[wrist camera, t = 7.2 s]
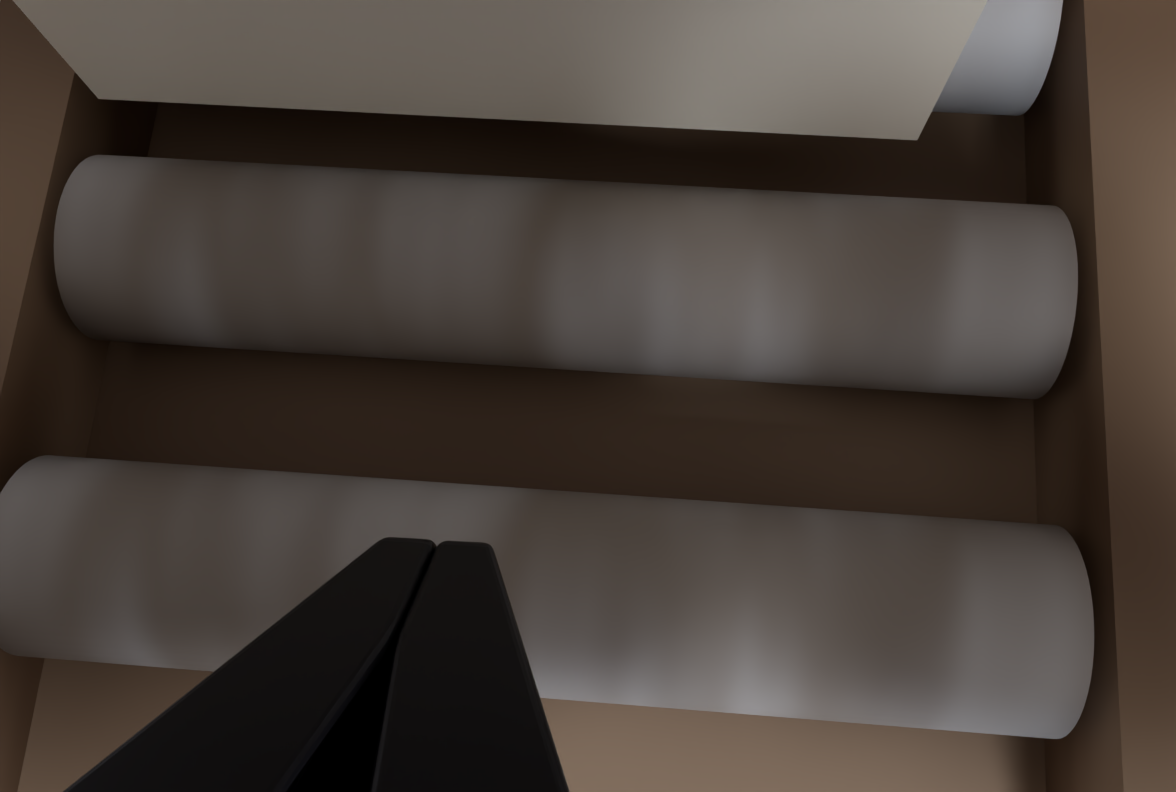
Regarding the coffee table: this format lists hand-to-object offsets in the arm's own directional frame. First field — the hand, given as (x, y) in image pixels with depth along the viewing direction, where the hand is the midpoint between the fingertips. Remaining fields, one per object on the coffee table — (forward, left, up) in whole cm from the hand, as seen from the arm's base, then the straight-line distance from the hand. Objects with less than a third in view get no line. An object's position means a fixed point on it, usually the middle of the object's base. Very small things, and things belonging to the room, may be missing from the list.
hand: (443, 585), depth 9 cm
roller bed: (+7, 0, -7) cm, 10 cm away
